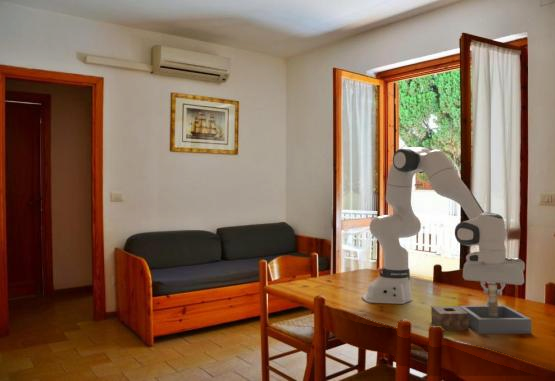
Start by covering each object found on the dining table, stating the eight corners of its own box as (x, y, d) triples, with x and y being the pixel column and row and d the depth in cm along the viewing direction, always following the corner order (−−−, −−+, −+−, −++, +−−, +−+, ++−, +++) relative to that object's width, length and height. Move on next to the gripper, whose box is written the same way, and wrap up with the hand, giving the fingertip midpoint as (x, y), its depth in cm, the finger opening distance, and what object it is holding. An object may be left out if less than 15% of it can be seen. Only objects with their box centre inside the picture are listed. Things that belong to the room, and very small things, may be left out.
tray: (479, 333, 153) (478, 319, 153) (459, 318, 171) (459, 305, 171) (531, 333, 153) (531, 319, 153) (506, 318, 171) (506, 305, 171)
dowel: (497, 320, 160) (496, 285, 160) (488, 319, 161) (487, 284, 161) (498, 318, 162) (497, 283, 162) (489, 317, 164) (488, 282, 164)
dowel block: (440, 330, 158) (440, 313, 158) (431, 321, 168) (431, 306, 168) (468, 330, 157) (468, 313, 157) (458, 321, 167) (457, 306, 167)
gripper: (525, 257, 159) (525, 295, 159) (464, 253, 170) (464, 289, 170) (524, 260, 154) (524, 299, 154) (461, 256, 164) (462, 293, 165)
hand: (492, 294), depth 162 cm, fingers closed on dowel, 3 cm apart
